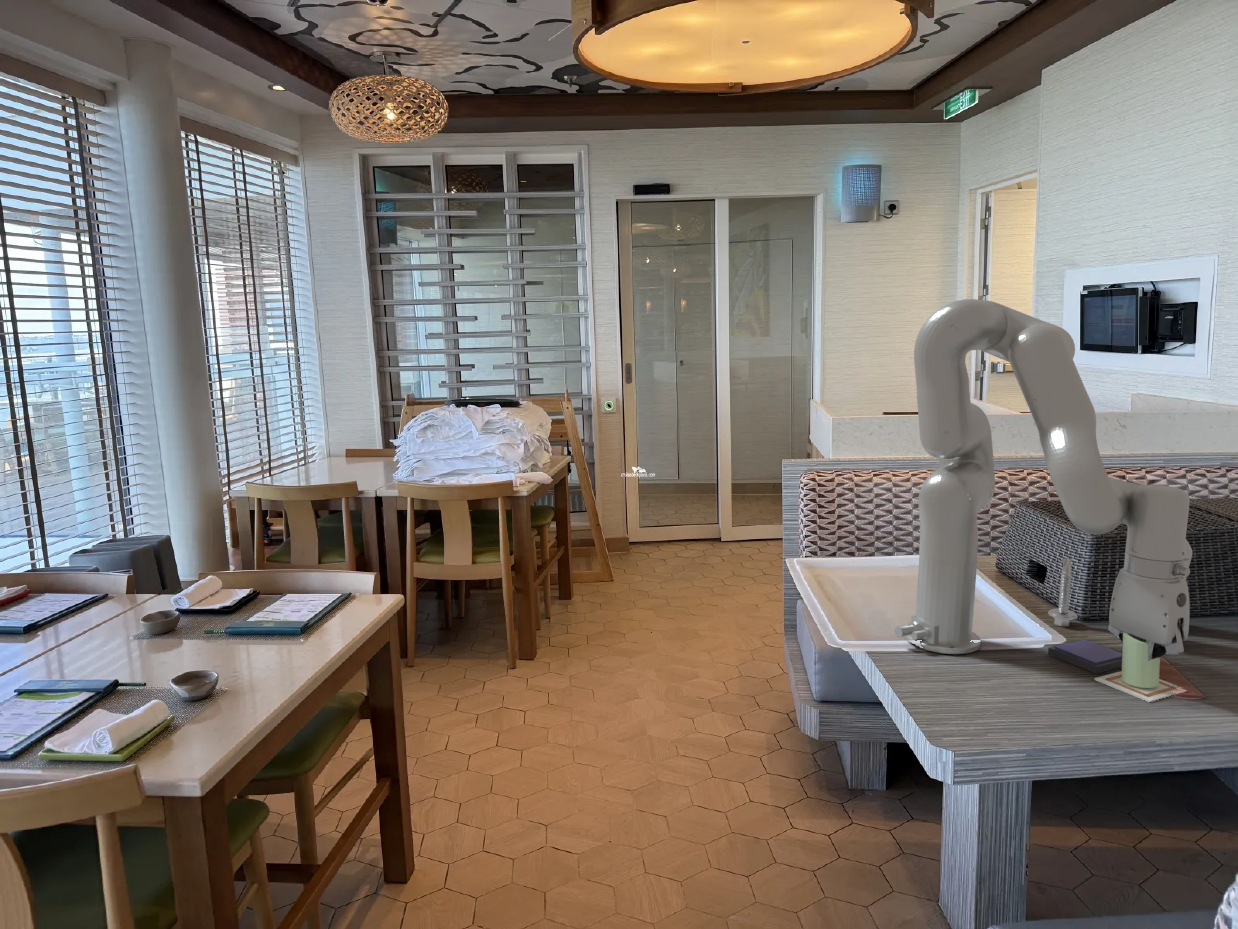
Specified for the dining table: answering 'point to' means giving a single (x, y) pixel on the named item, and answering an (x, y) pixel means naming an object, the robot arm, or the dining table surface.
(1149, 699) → the square coaster
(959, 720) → the dining table surface
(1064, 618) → the screw
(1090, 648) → the ink pad
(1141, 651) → the candle
